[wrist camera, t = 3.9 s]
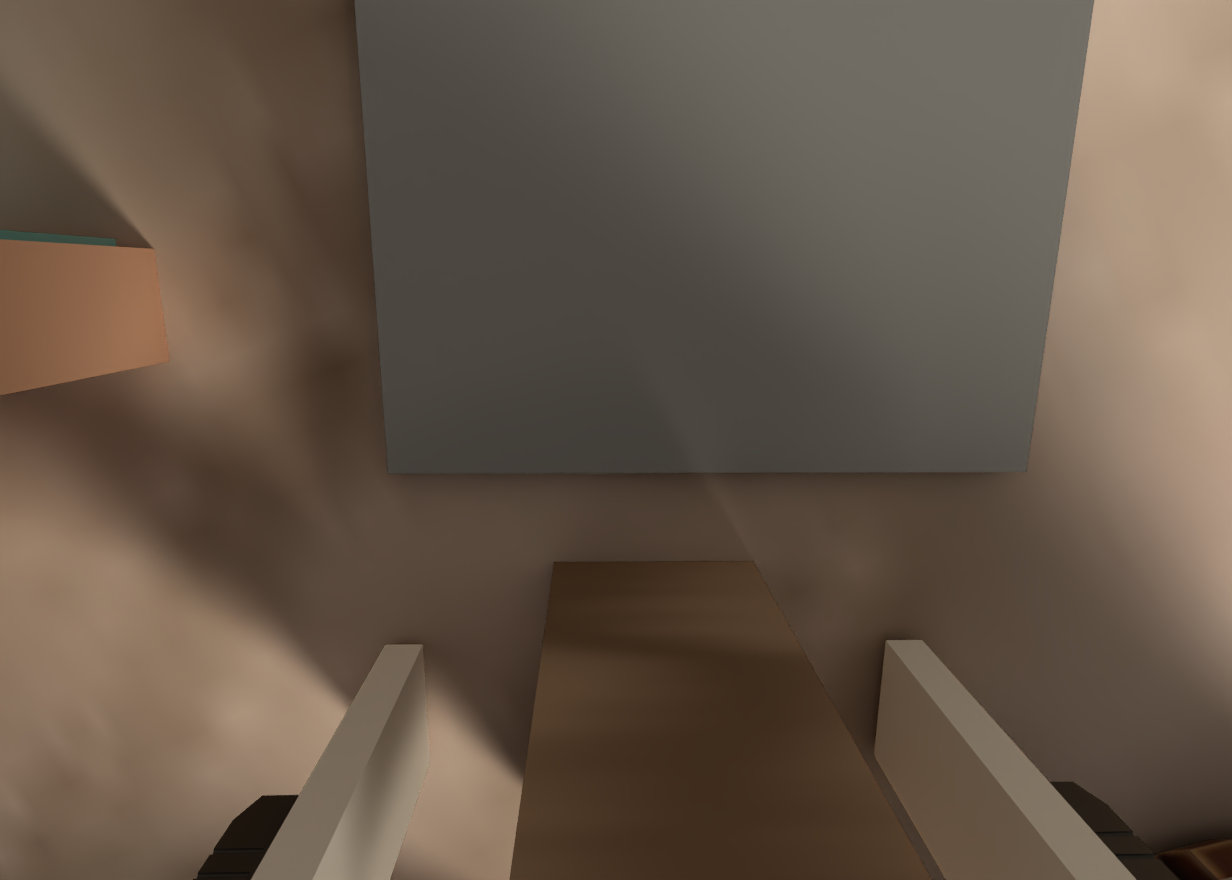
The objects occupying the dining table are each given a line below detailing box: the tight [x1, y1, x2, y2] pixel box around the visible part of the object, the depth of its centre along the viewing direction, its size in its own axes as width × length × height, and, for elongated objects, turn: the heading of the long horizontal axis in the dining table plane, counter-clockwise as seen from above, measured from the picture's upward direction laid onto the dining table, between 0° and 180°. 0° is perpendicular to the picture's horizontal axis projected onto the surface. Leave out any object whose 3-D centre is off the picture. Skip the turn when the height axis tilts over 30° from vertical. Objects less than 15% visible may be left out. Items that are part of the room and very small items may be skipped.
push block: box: [510, 561, 932, 880], centre depth 11 cm, size 4×6×8 cm, turn 0°
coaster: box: [354, 0, 1094, 474], centre depth 12 cm, size 12×12×1 cm
